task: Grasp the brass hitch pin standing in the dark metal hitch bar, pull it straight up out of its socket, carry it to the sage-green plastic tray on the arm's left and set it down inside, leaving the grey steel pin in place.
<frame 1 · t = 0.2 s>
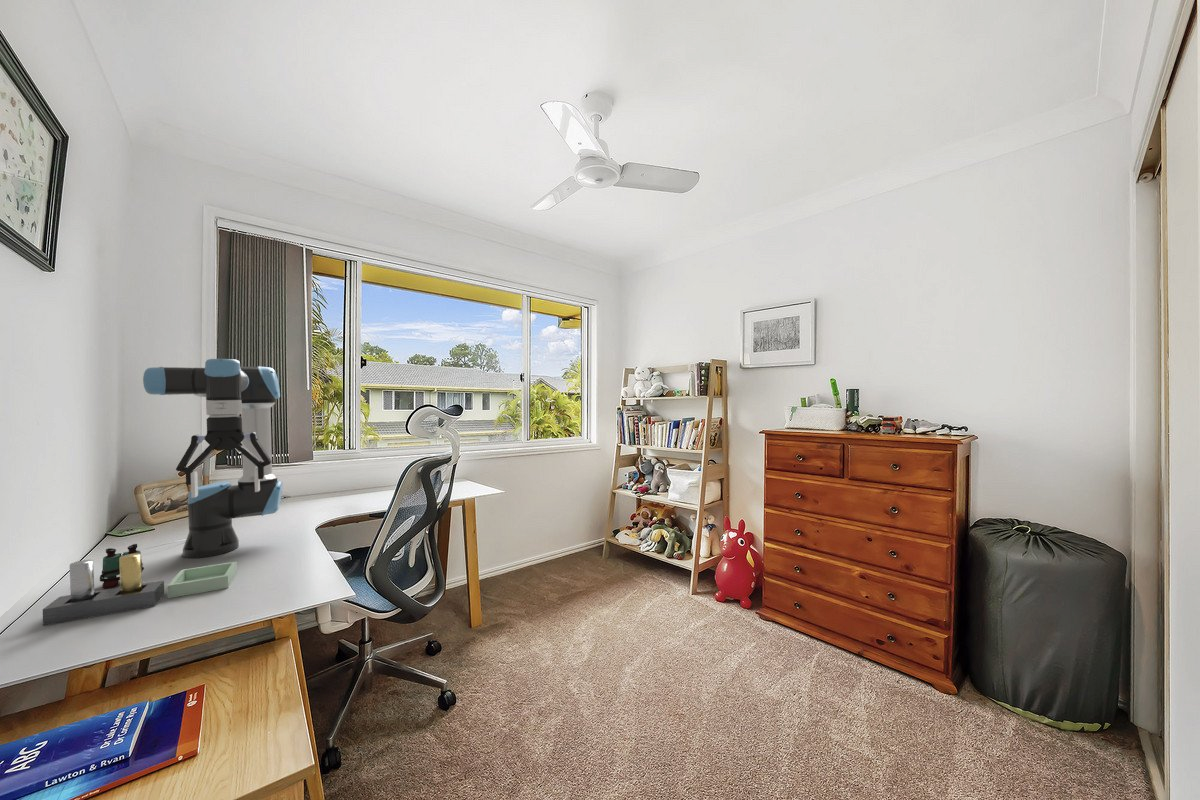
hand: (226, 493, 128), 28 cm above the table, fingers open, 13 cm apart
hitch bar: (108, 609, 121), on the table
brass pin: (131, 605, 123), resting in hitch bar
tray: (204, 584, 135), on the table
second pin: (83, 613, 118), resting in hitch bar
binoculars: (123, 584, 137), on the table
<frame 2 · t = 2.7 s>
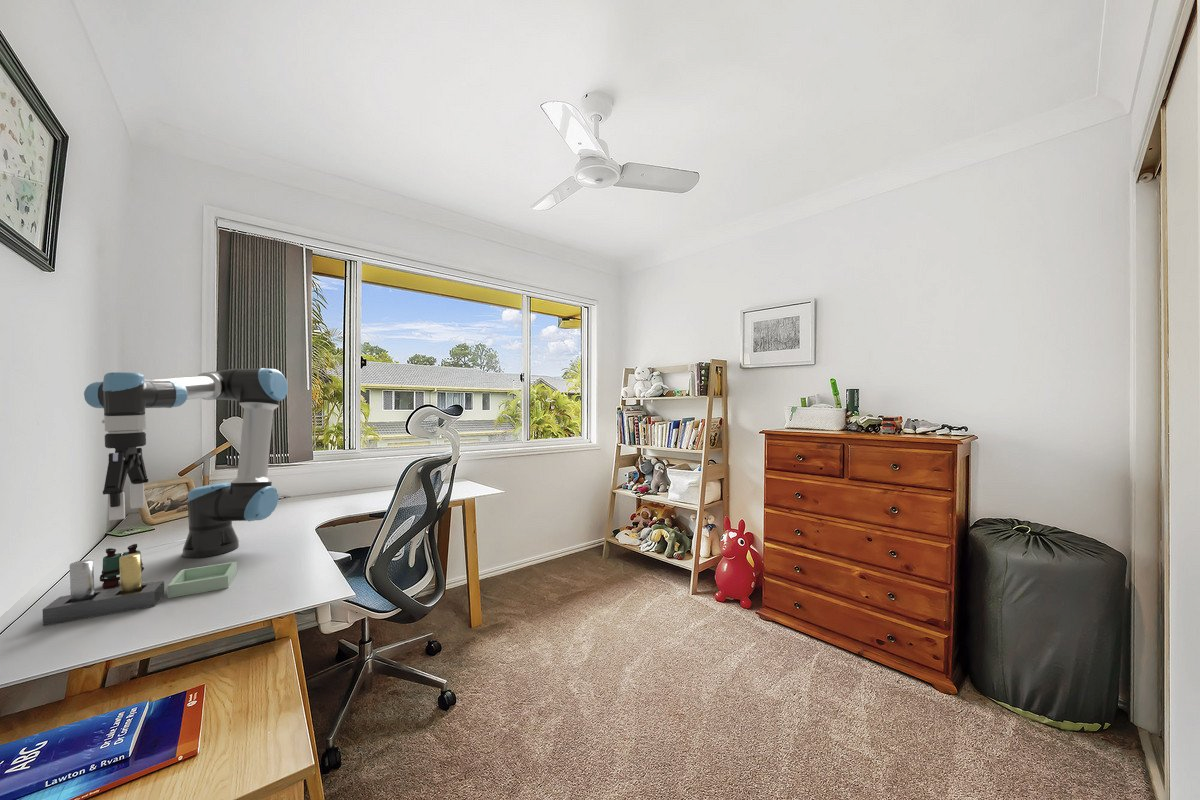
hand: (127, 513, 122), 24 cm above the table, fingers open, 13 cm apart
nothing on the table moved.
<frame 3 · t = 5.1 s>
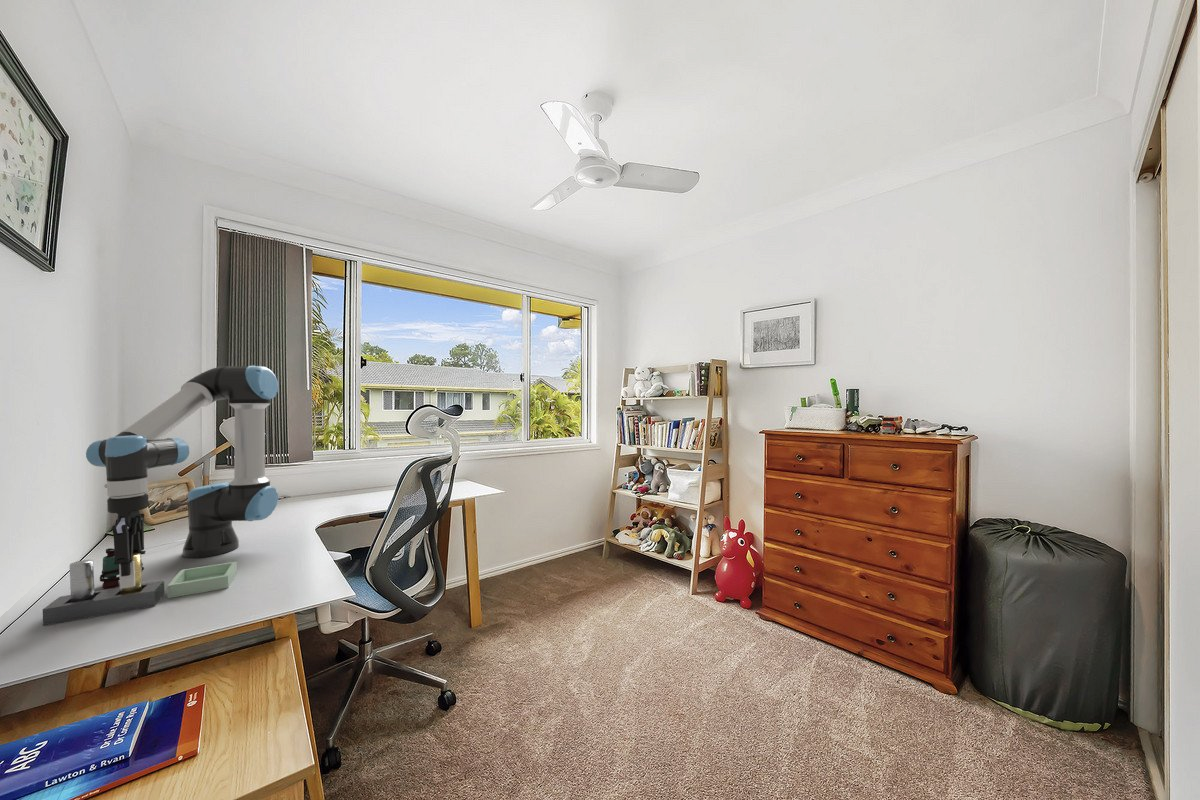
hand: (131, 583, 123), 6 cm above the table, fingers closed on brass pin, 4 cm apart
brass pin: (131, 605, 123), resting in hitch bar, touching gripper
everything else where it was.
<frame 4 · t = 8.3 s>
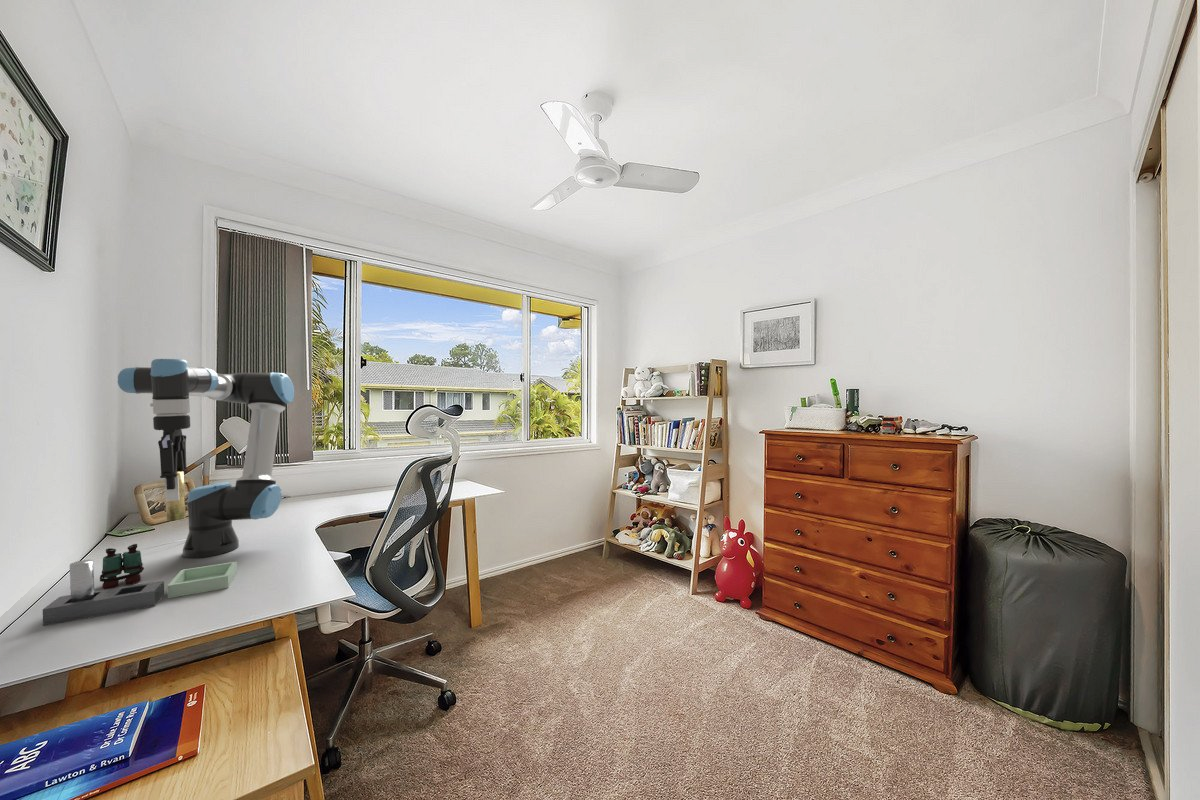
hand: (175, 498, 130), 26 cm above the table, fingers closed on brass pin, 4 cm apart
brass pin: (176, 518, 130), point 20 cm above the table, touching gripper
everything else where it was.
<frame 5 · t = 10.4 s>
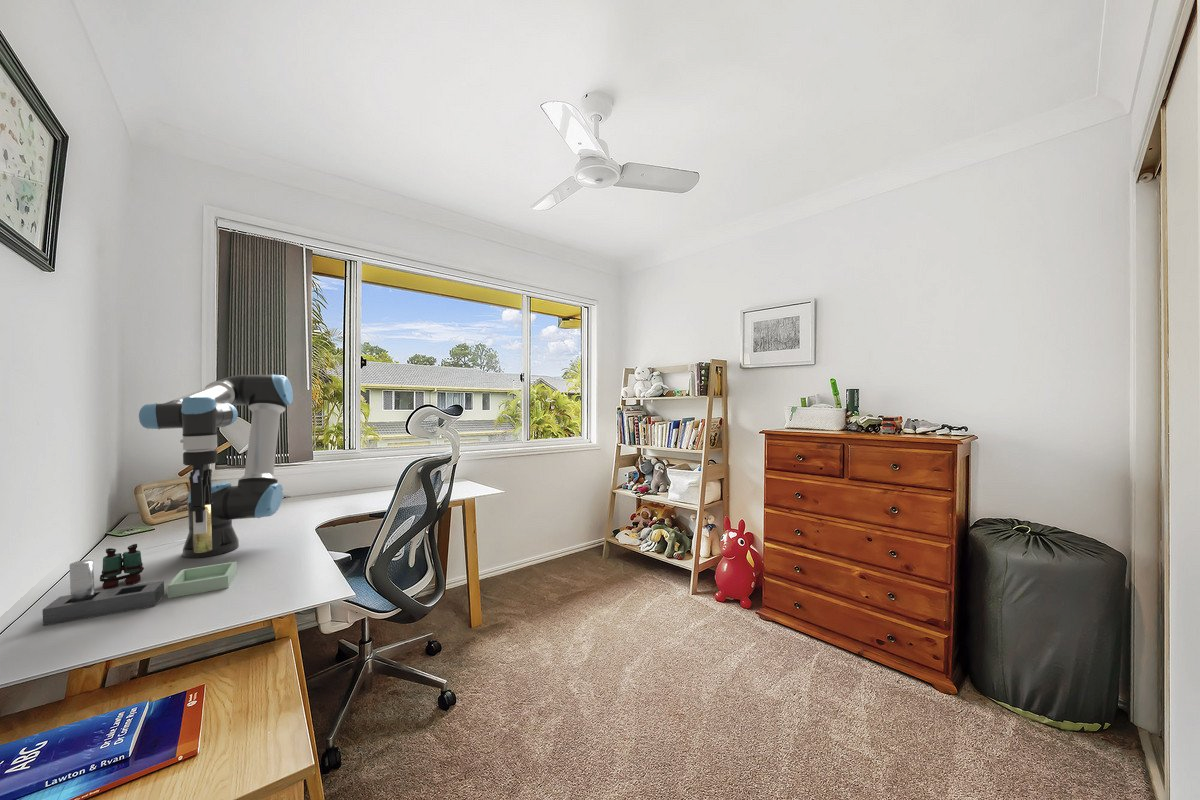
hand: (202, 531, 135), 16 cm above the table, fingers closed on brass pin, 4 cm apart
brass pin: (203, 550, 135), point 10 cm above the table, touching gripper
everything else where it was.
when the fingers open (7 cm above the table, at t = 12.0 s): brass pin stays where it is, resting on tray.
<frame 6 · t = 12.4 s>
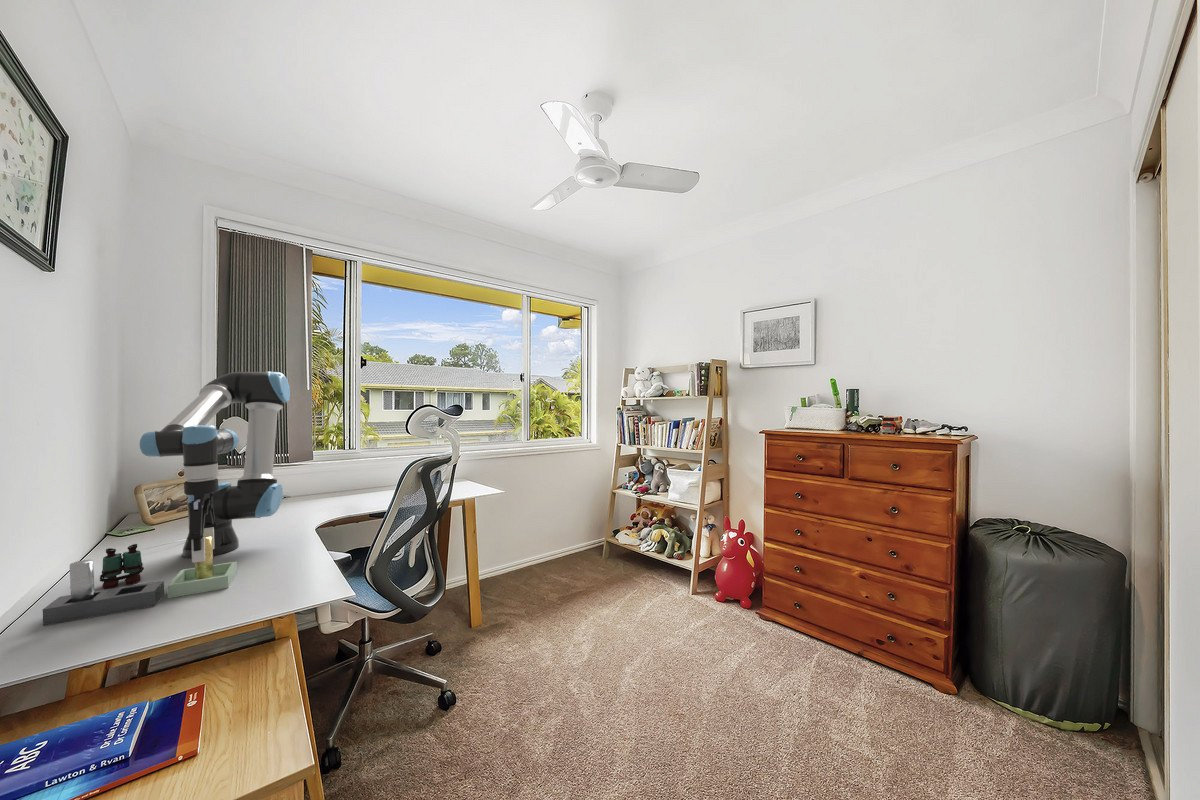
hand: (203, 555, 135), 8 cm above the table, fingers open, 10 cm apart
brass pin: (204, 582, 135), point 1 cm above the table, touching tray
everything else where it was.
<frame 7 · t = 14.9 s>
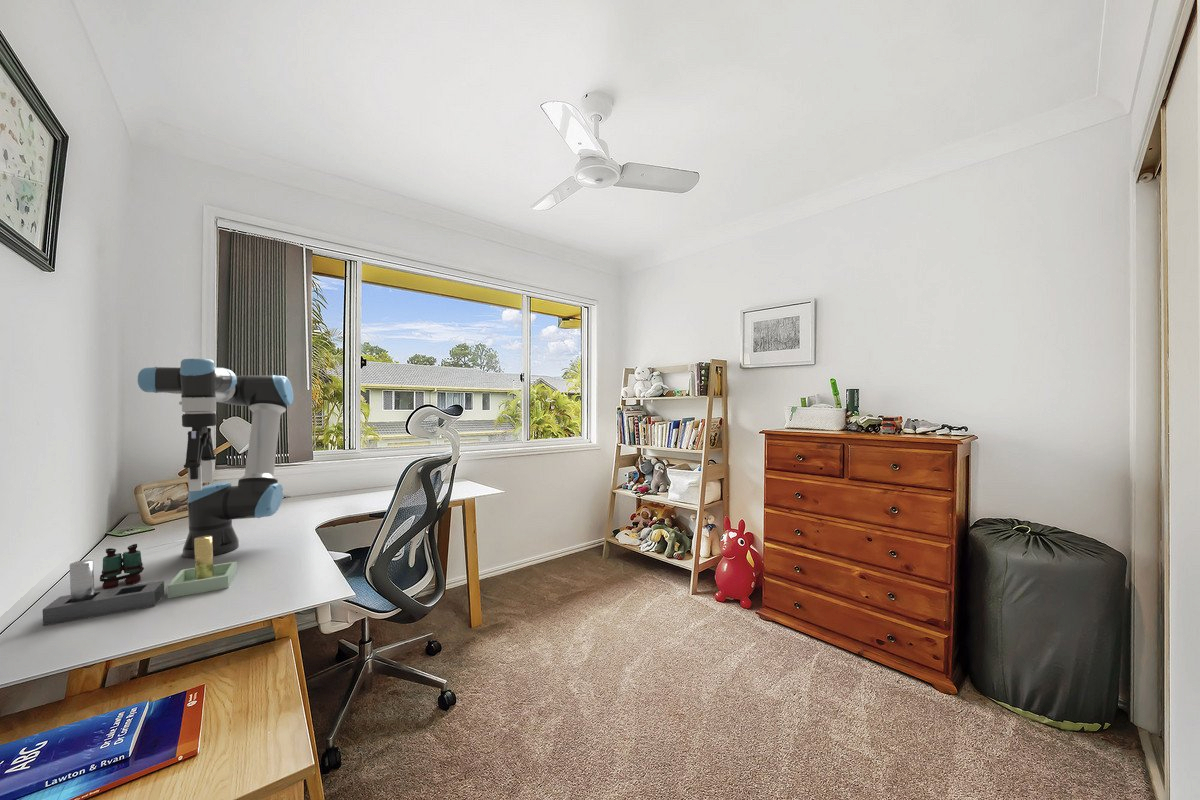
hand: (201, 486, 135), 28 cm above the table, fingers open, 13 cm apart
nothing on the table moved.
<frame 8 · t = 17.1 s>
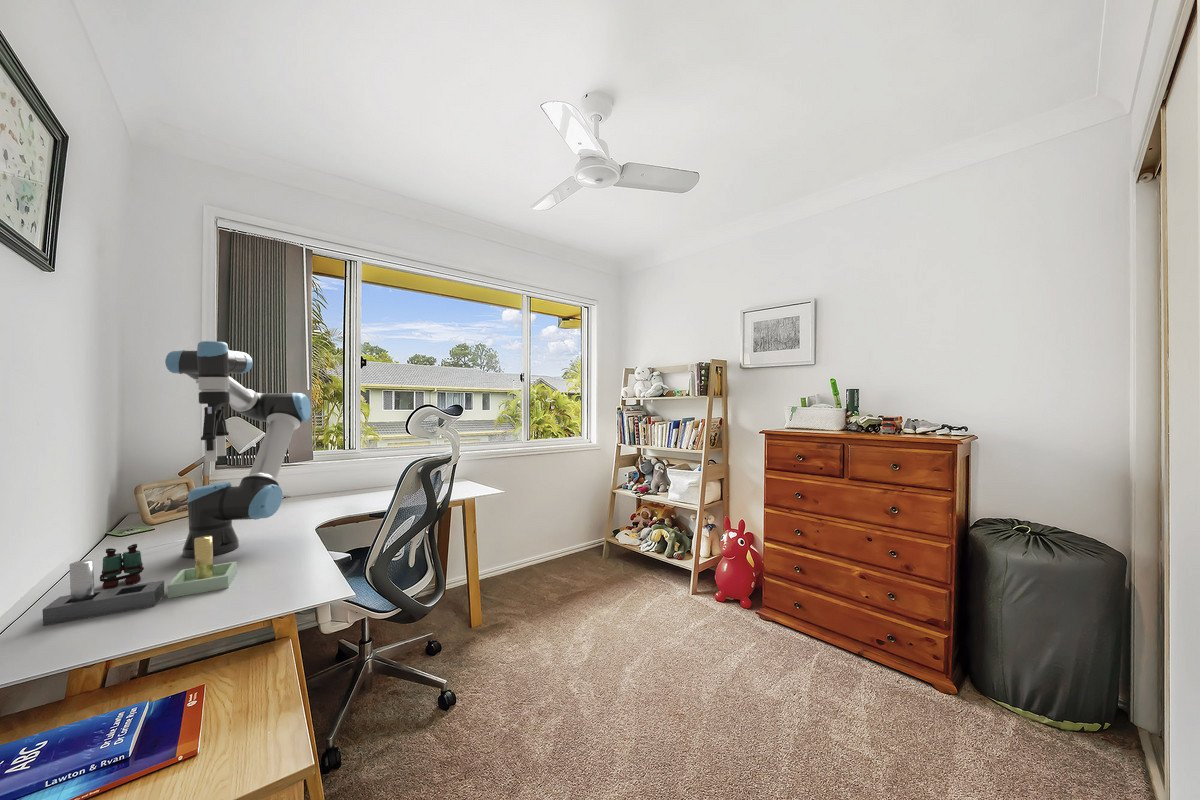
hand: (216, 458, 147), 35 cm above the table, fingers open, 13 cm apart
nothing on the table moved.
at the end: brass pin inside the target area on the tray (0.0 cm from its centre), point 0.6 cm above the tray's base; brass pin touching tray; the gripper is holding nothing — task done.
